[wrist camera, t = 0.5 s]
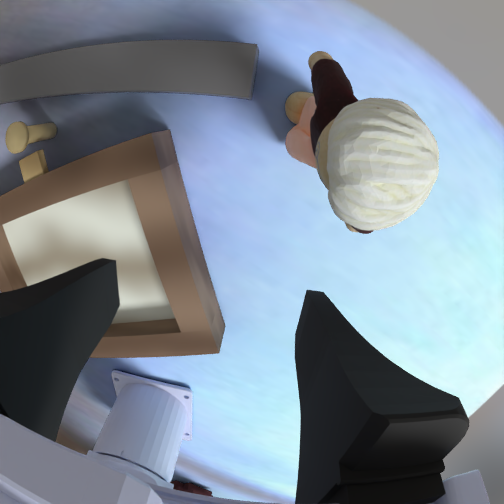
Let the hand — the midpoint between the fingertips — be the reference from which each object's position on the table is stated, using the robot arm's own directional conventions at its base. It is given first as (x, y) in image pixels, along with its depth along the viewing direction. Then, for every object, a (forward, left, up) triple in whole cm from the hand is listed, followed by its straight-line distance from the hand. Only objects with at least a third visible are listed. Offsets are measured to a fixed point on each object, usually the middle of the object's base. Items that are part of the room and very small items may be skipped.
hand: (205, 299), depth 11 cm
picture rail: (+7, +14, -9) cm, 18 cm away
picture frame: (-4, +11, -9) cm, 14 cm away
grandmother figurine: (+6, -4, -9) cm, 12 cm away
